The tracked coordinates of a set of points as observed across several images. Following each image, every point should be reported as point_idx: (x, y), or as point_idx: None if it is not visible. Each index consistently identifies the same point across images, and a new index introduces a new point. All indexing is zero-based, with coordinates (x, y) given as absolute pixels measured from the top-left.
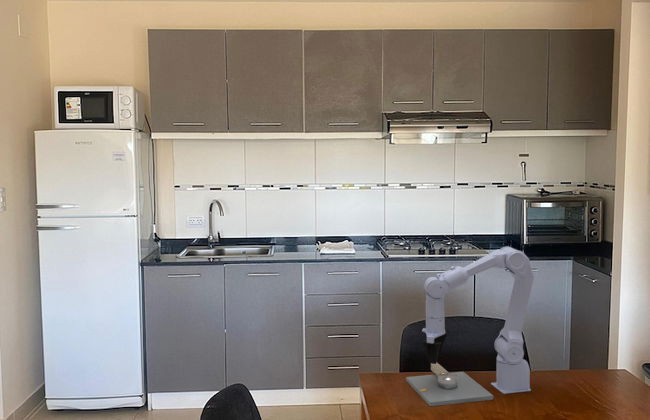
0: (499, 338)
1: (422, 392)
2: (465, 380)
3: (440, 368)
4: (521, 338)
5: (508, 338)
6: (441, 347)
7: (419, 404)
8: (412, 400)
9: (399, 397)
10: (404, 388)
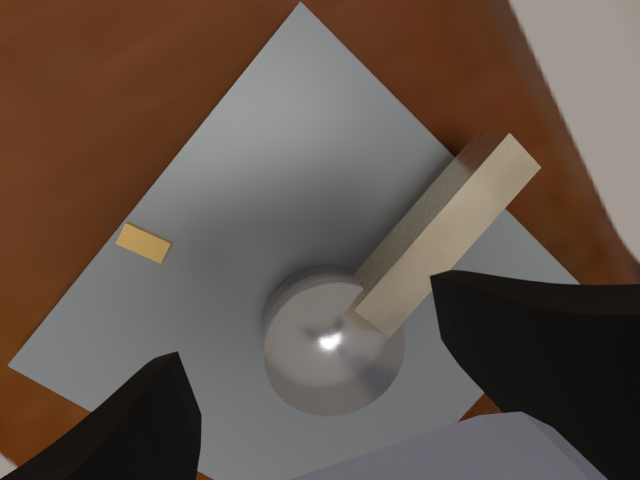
0: None
1: (118, 249)
2: None
3: (424, 261)
4: None
5: None
6: (500, 395)
7: (9, 283)
8: (30, 216)
9: (4, 116)
10: (173, 66)
